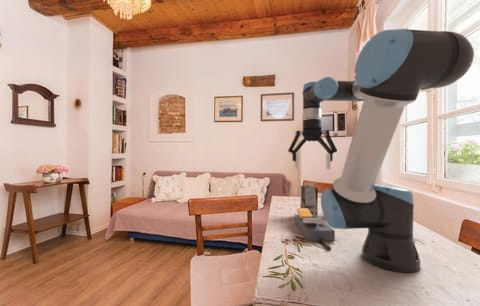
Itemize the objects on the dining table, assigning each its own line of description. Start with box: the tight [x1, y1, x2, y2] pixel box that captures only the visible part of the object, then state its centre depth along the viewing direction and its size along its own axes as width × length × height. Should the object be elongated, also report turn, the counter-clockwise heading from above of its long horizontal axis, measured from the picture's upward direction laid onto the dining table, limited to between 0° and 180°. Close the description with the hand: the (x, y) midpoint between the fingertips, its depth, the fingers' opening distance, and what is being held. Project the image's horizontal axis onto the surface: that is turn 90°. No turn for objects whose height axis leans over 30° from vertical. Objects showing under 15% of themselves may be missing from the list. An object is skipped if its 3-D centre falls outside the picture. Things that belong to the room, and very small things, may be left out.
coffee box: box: [300, 185, 319, 216], centre depth 117 cm, size 9×6×16 cm
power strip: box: [294, 214, 336, 251], centre depth 94 cm, size 30×10×5 cm, turn 0°
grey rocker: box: [303, 218, 321, 223], centre depth 93 cm, size 7×5×2 cm
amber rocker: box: [296, 207, 313, 220], centre depth 103 cm, size 7×5×2 cm
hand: (312, 169), depth 99 cm, fingers open, 13 cm apart
